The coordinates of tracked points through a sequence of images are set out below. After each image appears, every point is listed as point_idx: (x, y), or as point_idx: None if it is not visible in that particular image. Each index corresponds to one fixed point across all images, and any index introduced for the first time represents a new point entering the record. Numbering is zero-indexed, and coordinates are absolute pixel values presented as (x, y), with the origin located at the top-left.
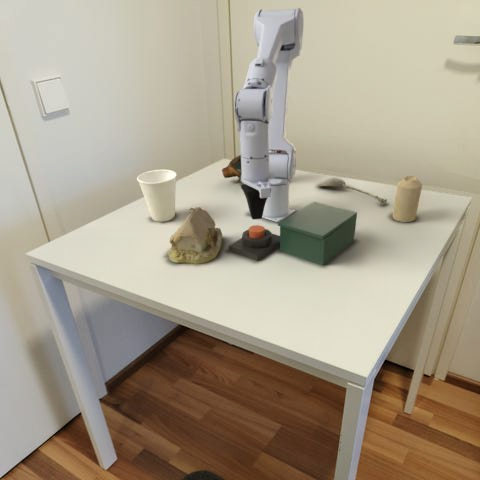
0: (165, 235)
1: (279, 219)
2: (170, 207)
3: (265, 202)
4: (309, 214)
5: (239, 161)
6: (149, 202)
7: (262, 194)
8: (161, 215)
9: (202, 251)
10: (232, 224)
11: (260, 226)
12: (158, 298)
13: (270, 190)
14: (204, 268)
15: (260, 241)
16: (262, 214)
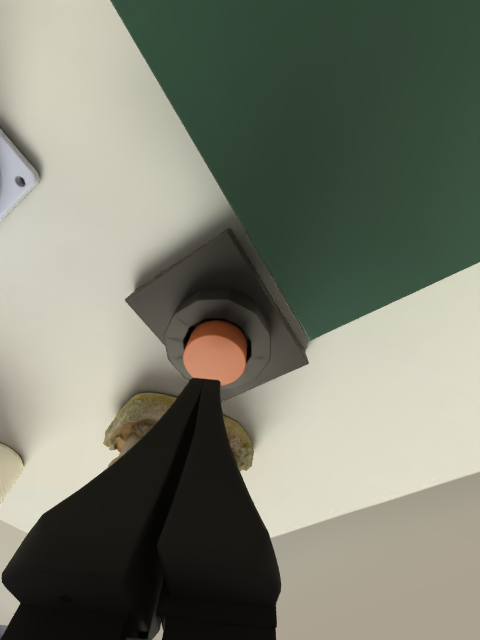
0: (96, 468)
1: (22, 164)
2: None
3: (230, 449)
4: (298, 74)
5: None
6: None
7: None
8: (12, 480)
9: (239, 465)
10: (46, 336)
11: (200, 344)
12: (335, 514)
13: (269, 564)
14: (275, 448)
15: (269, 352)
16: (219, 391)
